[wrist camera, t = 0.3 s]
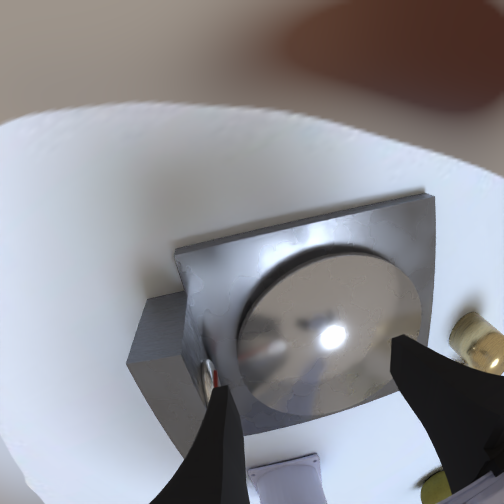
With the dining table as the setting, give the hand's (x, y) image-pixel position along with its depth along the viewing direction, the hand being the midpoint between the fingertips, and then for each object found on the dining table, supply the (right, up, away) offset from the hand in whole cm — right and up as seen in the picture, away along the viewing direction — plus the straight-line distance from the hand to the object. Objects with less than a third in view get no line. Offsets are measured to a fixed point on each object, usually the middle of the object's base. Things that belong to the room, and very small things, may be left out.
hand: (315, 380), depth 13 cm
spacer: (+19, -3, +14) cm, 24 cm away
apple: (+30, -35, +28) cm, 54 cm away
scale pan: (+3, -1, +10) cm, 10 cm away
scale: (+2, -1, +11) cm, 11 cm away
